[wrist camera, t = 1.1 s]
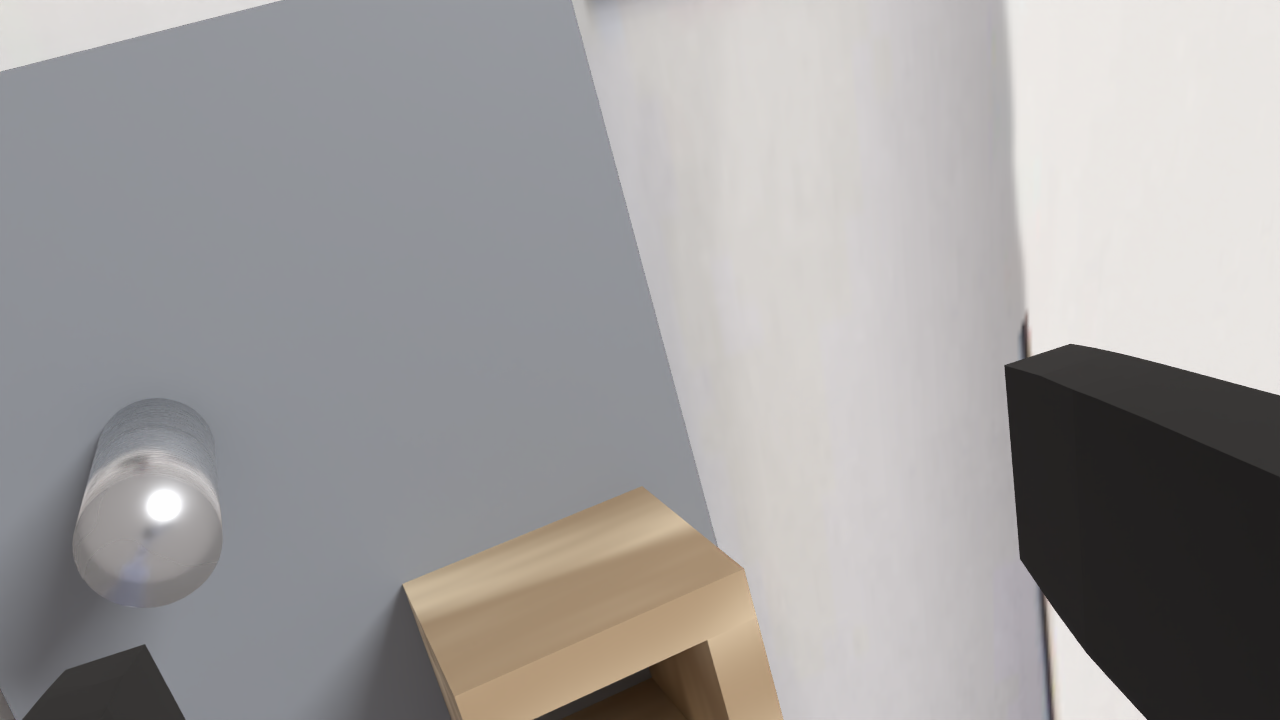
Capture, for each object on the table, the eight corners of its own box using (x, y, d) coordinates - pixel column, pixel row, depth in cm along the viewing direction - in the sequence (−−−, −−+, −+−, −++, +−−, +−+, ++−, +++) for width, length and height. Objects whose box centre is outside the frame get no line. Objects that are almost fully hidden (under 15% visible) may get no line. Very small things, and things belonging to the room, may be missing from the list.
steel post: (230, 479, 22) (242, 575, 17) (122, 519, 21) (104, 629, 17) (191, 382, 21) (193, 455, 17) (79, 421, 21) (49, 507, 16)
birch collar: (701, 696, 27) (808, 816, 22) (480, 800, 25) (546, 952, 21) (642, 485, 25) (743, 568, 21) (402, 583, 24) (454, 696, 19)
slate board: (767, 771, 29) (782, 788, 28) (195, 1057, 25) (196, 1085, 24) (541, -63, 23) (553, -69, 22) (-254, 139, 19) (-271, 140, 18)
